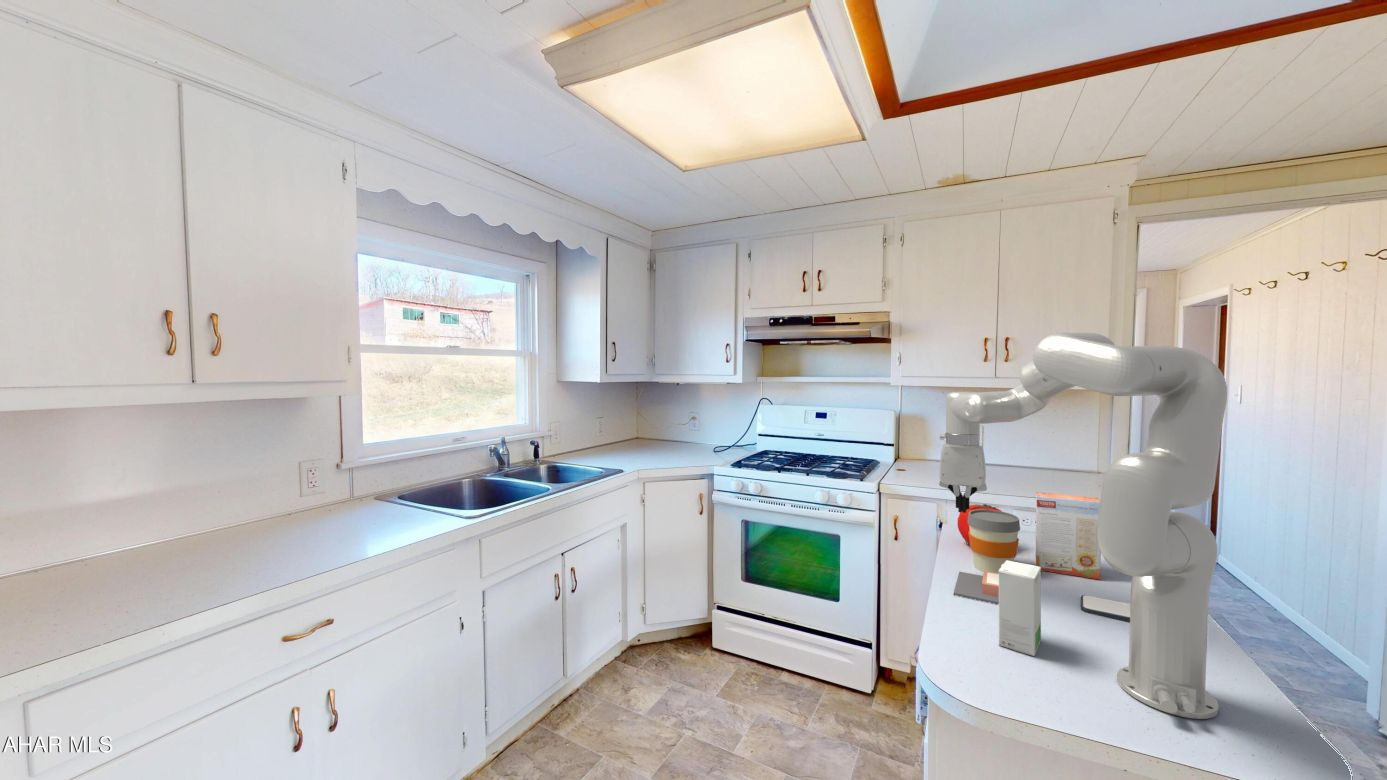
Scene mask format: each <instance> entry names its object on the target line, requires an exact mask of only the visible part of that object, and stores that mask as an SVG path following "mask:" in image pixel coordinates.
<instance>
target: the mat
mask: <svg viewBox="0 0 1387 780" xmlns="http://www.w3.org/2000/svg"><path fill="white" fill-rule="evenodd" d="M957 575H958V576H957V579H956V583H955V586H954V589H953V596H955V595H958V596H957V597H960V596H963V597H962V598H964V597H967V598H966V599H969V598H972V599H971V600H974V599H976V600H975V601H979V600H981V601H980V602H983V601H985V602H984V603H988V602H991V603H990V604H993V603H995V604H994V605H997V604H999V597H995V596H990V595H985V594H982V580H983V575H982V574H981V575H980V574H977V573H976V574H975V573H970V572H964V571H958V574H957Z"/></svg>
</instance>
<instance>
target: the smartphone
mask: <svg viewBox="0 0 1387 780" xmlns="http://www.w3.org/2000/svg"><path fill="white" fill-rule="evenodd" d="M1080 610H1081V612H1084V613H1085V614H1090V615H1094V616H1099V617H1103V618H1107V619H1110V620H1112V619H1113V620H1116V621H1121V622H1124V623H1129V624H1130V603H1128V602H1127V603H1126V602H1122V601H1116V600H1111V599H1108V598H1107V599H1106V598H1103V597H1102V598H1101V597H1098V596H1097V597H1096V596H1091V595H1085V594H1084V595H1083V594H1082V595H1081V596H1080Z"/></svg>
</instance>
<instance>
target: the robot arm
mask: <svg viewBox="0 0 1387 780" xmlns="http://www.w3.org/2000/svg"><path fill="white" fill-rule="evenodd" d="M1019 380H1020V384H1019V385H1017V386H1015V387H1014V388H1012V389H1009V390H1007V391H1005V390H1004V391H1003V390H1002V391H998V390H997V391H985V392H984V391H982V392H981V391H980V392H973V391H953V392H952V391H951V392H949V393H947V395H946V397H945V398H946V399H945V405H946V406H945V433H943V434H939V440H940V441H941V440H942V441H944V442H945V443H944V444H942V446H941V451H940V458H939V460H940V461H939V463H940V464H939V483H938V484H939V486H940V487H941V488H945V489H948V490H949V491H950V492H951V493H952V494H953V495H954V496H955V508H956V509H958V510H957V511H958V513H960V512H963V513H966V511H967V509H969V505H970V497H971V496H972V495H974V494H976V493H978V492H986V491H987V489H988V487H987V486H988V485H987V483H986V479H987V478H986V477H987V473H986V470H987V469H986V460H985V459H986V458H985V453H984V448H983V446H982V445H981V444H980V442H981V441H980V440H981V439H980V434H981V433H980V431H981V430H980V429H981V428H980V427H981V426H980V425H982V424H983V425H984V424H996V423H998V424H999V423H1012V422H1016V421H1019V420H1022V419H1024V418H1027V417H1028V416H1031V415H1033V414H1035V413H1038V412H1039V411H1041V410H1043V409H1044V408H1046V406H1047V405H1049V403H1051V400H1052V399H1053V398H1054V397H1056V396H1058V395H1060V394H1062V393H1064V392H1066V391H1068V390H1071V389H1073V388H1075V387H1078V388H1079V387H1080V388H1082V389H1086V390H1089V391H1093V392H1096V393H1099V394H1103V395H1108V396H1113V397H1142V396H1157V397H1159V399H1160V401H1159V403H1158V405H1157V407H1156V408H1155V410H1154V411H1153V413H1152V416H1151V418H1150V421H1149V424H1148V436H1147V440H1146V441H1147V442H1146V446H1145V450H1144V451H1143V452H1133V453H1129V454H1128V453H1127V454H1125V455H1122V456H1120V457H1118V458H1117V459H1115V460H1114V461H1112V463H1110V465H1109V466H1108V468H1107V469H1106V471H1105V473H1104V476H1103V478H1102V482H1101V484H1102V485H1101V490H1100V491H1101V492H1100V499H1099V500H1100V509H1099V518H1098V528H1097V540H1098V546H1099V549H1100V552H1101V556H1102V558H1103V559H1104V561H1106V563H1107V564H1109V566H1110V567H1112V569H1114V570H1115V571H1117V572H1119V573H1122V574H1124V575H1127V576H1130V577H1132V578H1131V585H1130V599H1129V601H1130V603H1129V604H1130V623H1129V646H1128V647H1129V649H1128V666H1124V667H1121V668H1120V669H1118V670H1117V671H1116V672H1117V673H1116V681H1117V684H1118V686H1120V687H1121V688H1122V690H1124V691H1125V693H1127V694H1129V695H1130V696H1131V697H1132V698H1134V699H1136V700H1137V701H1139V702H1141V703H1143V704H1145V705H1147V706H1149V707H1151V708H1154V709H1156V710H1159V711H1161V712H1164V713H1167V714H1171V715H1174V716H1179V717H1182V718H1187V719H1196V720H1208V719H1212V718H1214V717H1216V716H1218V714H1219V707H1220V706H1219V703H1218V701H1217V699H1216V698H1215V697H1214V696H1213V695H1212V694H1211V693H1210V692H1209V691H1208V690H1206V679H1207V678H1206V677H1207V676H1206V675H1207V650H1208V649H1207V648H1208V624H1209V623H1208V621H1209V620H1208V617H1209V602H1210V590H1211V588H1210V587H1211V583H1212V579H1213V575H1214V572H1215V571H1214V570H1215V567H1216V564H1217V559H1218V544H1217V540H1216V537H1215V535H1214V533H1213V532H1212V530H1211V529H1210V528H1209V527H1208V526H1207V525H1206V524H1205V522H1203V521H1202V520H1200V519H1199V518H1197V517H1195V516H1193V515H1191V514H1188V513H1185V512H1180V511H1173V510H1179V509H1187V508H1192V507H1197V506H1201V505H1203V504H1204V503H1206V502H1207V501H1209V499H1211V498H1212V495H1213V494H1214V490H1215V486H1216V479H1217V471H1218V463H1219V455H1220V449H1221V437H1222V429H1223V422H1224V418H1225V412H1226V409H1227V408H1226V407H1227V402H1228V386H1227V381H1226V379H1225V375H1224V374H1223V372H1222V370H1221V369H1220V368H1219V367H1218V366H1217V364H1215V363H1214V362H1213V361H1212V360H1211V359H1209V358H1208V357H1206V356H1204V355H1202V354H1200V353H1198V352H1196V351H1194V350H1190V349H1187V348H1183V347H1177V346H1171V345H1170V346H1167V345H1137V346H1135V345H1131V346H1130V345H1127V346H1125V345H1123V346H1122V345H1116V344H1115V342H1114V341H1112V340H1111V339H1110V338H1109V337H1107V336H1105V335H1102V334H1100V333H1095V332H1057V333H1053V334H1049V335H1048V336H1046V337H1044V338H1043V339H1041V341H1039V342H1038V343H1037V345H1036V346H1035V348H1034V350H1033V353H1032V360H1031V361H1029V362H1027V363H1026V364H1024V365H1023V366H1022V367H1021V369H1020V371H1019ZM960 486H962V487H965V489H964V490H965V491H964V492H963V493H962V492H961V487H960Z"/></svg>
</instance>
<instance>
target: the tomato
mask: <svg viewBox="0 0 1387 780" xmlns="http://www.w3.org/2000/svg"><path fill="white" fill-rule="evenodd" d="M972 510H996V511H1002V510H1001V509H999V508H998V507H997V506H992V505H989V504H985V503H984V504H977V503H975V504H971V505H970V504H969V509H967V511H966V513H963V512H959V515H958V517H957V529H958V532H959V533H960V535H961V537H962V538H963V539H964V540H965V541H966V542H965V543H967V544H969V545H970V541H969V533H968V532H969V531H970V528H969V524H968V514H969V512H970V511H972Z"/></svg>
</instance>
